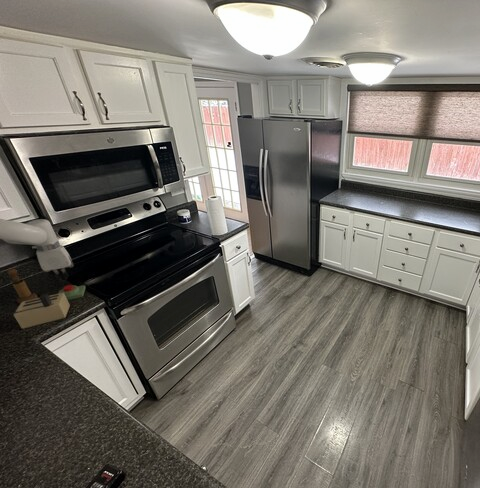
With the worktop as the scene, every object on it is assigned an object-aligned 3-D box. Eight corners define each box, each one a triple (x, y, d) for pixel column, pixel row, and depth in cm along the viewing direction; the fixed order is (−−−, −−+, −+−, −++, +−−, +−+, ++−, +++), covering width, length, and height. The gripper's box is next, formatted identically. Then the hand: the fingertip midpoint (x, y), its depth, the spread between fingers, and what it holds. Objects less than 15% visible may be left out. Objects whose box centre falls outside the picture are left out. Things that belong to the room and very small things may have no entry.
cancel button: (63, 292, 130) (62, 289, 129) (65, 289, 133) (63, 286, 132) (73, 290, 132) (71, 287, 131) (74, 287, 134) (73, 284, 134)
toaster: (22, 329, 112) (13, 314, 109) (29, 315, 120) (21, 301, 116) (65, 318, 119) (58, 304, 115) (70, 306, 126) (63, 292, 123)
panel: (56, 303, 128) (53, 297, 126) (60, 294, 135) (57, 287, 133) (83, 297, 133) (80, 291, 131) (86, 288, 139) (83, 282, 138)
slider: (44, 307, 113) (39, 298, 111) (46, 303, 115) (41, 294, 113) (49, 306, 114) (45, 296, 112) (51, 302, 116) (47, 293, 114)
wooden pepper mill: (20, 306, 125) (1, 274, 117) (17, 301, 128) (-2, 270, 120) (39, 299, 130) (23, 268, 122) (35, 295, 133) (19, 264, 125)
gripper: (23, 252, 115) (42, 287, 123) (68, 245, 122) (83, 278, 130) (28, 246, 121) (46, 279, 129) (71, 239, 128) (85, 271, 136)
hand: (64, 278), depth 130 cm, fingers closed
